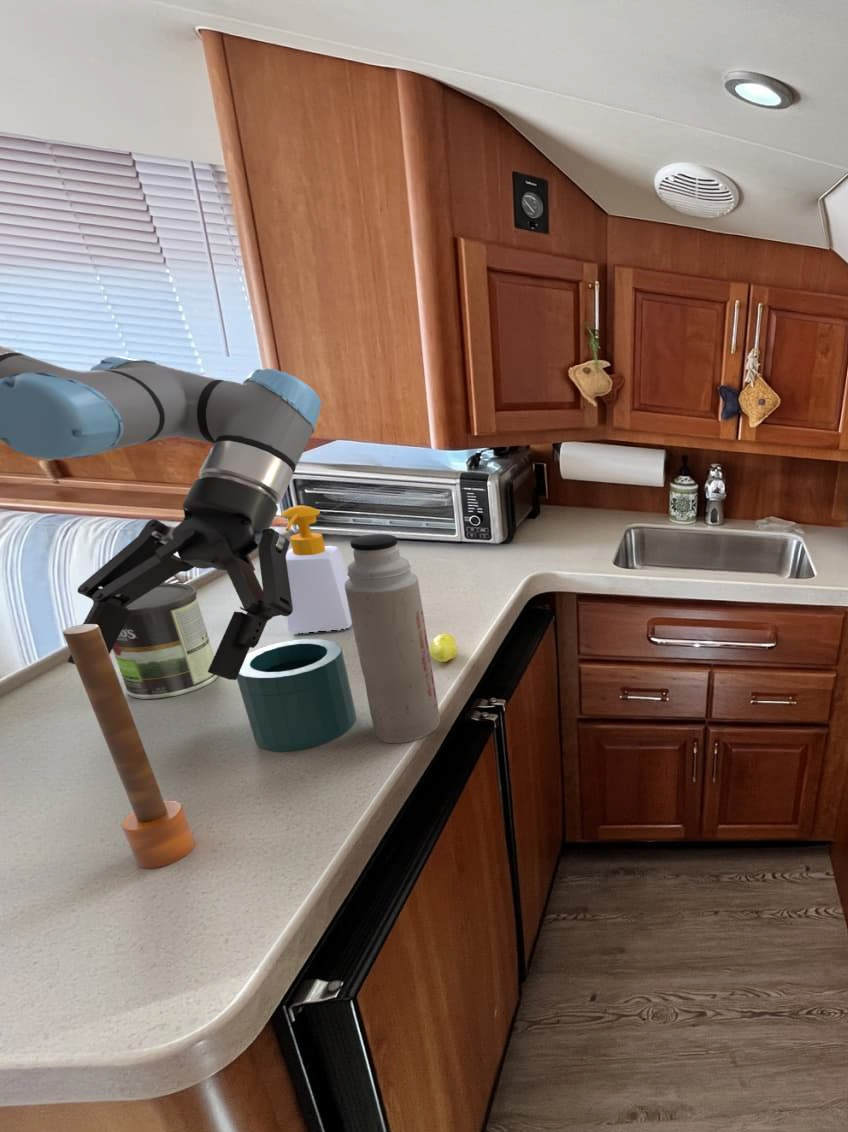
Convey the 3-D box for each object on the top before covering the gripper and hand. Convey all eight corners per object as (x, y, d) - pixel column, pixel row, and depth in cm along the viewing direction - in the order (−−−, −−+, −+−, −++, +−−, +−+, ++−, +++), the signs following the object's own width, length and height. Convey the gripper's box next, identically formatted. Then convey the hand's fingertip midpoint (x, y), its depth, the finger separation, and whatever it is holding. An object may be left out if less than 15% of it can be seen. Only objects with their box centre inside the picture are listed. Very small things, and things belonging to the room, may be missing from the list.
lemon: (460, 646, 113) (458, 626, 111) (456, 667, 106) (453, 646, 105) (433, 648, 111) (430, 628, 110) (428, 670, 104) (424, 649, 103)
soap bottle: (279, 648, 107) (246, 521, 99) (300, 616, 119) (272, 500, 110) (347, 642, 111) (321, 519, 103) (360, 611, 123) (338, 499, 114)
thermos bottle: (445, 709, 94) (417, 528, 84) (433, 740, 87) (401, 547, 77) (384, 714, 92) (348, 529, 82) (366, 746, 85) (324, 548, 75)
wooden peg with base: (130, 874, 64) (33, 642, 54) (144, 845, 67) (56, 622, 57) (189, 860, 66) (106, 634, 56) (199, 832, 69) (123, 616, 59)
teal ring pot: (247, 760, 81) (225, 684, 77) (262, 715, 89) (243, 646, 85) (353, 739, 86) (338, 668, 82) (358, 699, 95) (344, 633, 91)
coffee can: (153, 706, 89) (120, 615, 84) (110, 688, 93) (77, 599, 87) (236, 675, 98) (211, 591, 93) (195, 659, 102) (169, 578, 96)
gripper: (368, 517, 76) (303, 689, 67) (156, 501, 75) (64, 672, 67) (329, 482, 69) (251, 669, 61) (95, 464, 68) (-16, 650, 60)
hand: (153, 671), depth 64 cm, fingers open, 13 cm apart
